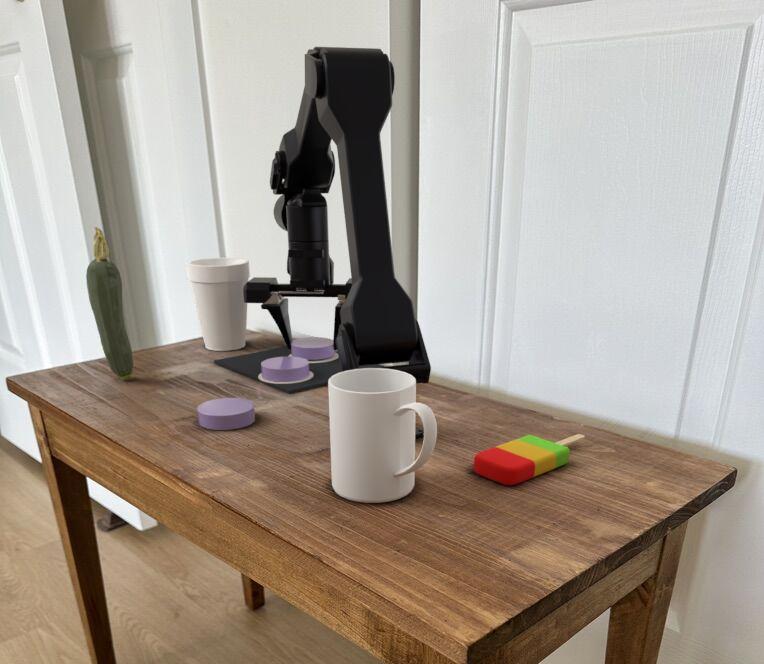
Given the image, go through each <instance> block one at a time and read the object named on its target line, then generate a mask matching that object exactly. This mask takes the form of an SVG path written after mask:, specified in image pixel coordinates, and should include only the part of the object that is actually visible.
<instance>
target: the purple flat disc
mask: <svg viewBox="0 0 764 664" xmlns="http://www.w3.org/2000/svg"><path fill="white" fill-rule="evenodd" d="M196 412H197V421H198V424H199V426H200V427H201V428H204V429H207V430H211V431H233V430H238V429H242V428H245V427H249V426H250V425H252V424H253V423H255V421H256V409H255V404H254V402H253V401H251V400H249V399H245V398H242V397H241V398H240V397H221V398H215V399H210V400H207V401H204V402H202V403H200V404H199V405H198V406H197V408H196Z"/></svg>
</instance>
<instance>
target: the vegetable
mask: <svg viewBox="0 0 764 664" xmlns="http://www.w3.org/2000/svg"><path fill="white" fill-rule="evenodd" d="M94 230H95V232H94V236H93V257H94V259H93V260H91V261H90V263H89V264H88V265H87V268H86V276H85V278H86V288H87V294H88V301H89V304H90V307H91V311H92V313H93V316H94V320H95V325H96V328H97V332H98V335H99V339H100V344H101V347H102V351H103V354H104V357H105V359H106V361H107V363H108V366H109V368H110V371H112V373H113V374H115V376H117V378H119V379H120V380H121V381H125V380H131V379H132V377H133V376H132V375H133V373H134V372H133V371H134V369H133V368H134V358H133V357H134V356H133V352H132V347H131V342H130V340H129V339H130V338H129V336H128V333H127V329H126V325H125V319H124V312H123V311H124V310H123V309H124V308H123V282H122V277H121V273H120V271H119V269H118V267H117V265H116V264H114V262H112V261H111V260H110V259H108V258H109V256H110V249H109V246H108V245H109V244H107V241H106V237H105V236H104V233H103V231H102V229H101V228H99V227H98V226H95V227H94Z"/></svg>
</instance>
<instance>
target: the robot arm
mask: <svg viewBox="0 0 764 664" xmlns="http://www.w3.org/2000/svg"><path fill="white" fill-rule="evenodd" d="M395 79H396V77H395V68H394V65H393V62H392V61H391V60H390V58H389V55H388V54H387V53H384V51H382V49H381V48H375V47H374V48H373V47H371V48H369V47H340V46H314V47H313V48H311V49H308V50H307V52H306V53H305V54H304V87H303V91H302V96H301V100H300V105H299V109H298V114H297V117H296V122H295V125H294V127H293V128H291V129H290V130H288V131H287V132H285V133H284V134H283V135H282V137H281V141H280V144H279V146H278V147H279V148H278V150H276V151H275V153H274V158H273V159H272V161H271V167H270V168H271V169H270V174H269V175H270V176H269V186H270V190H272V194H273V195H275V196H276V195H277V196H279V195H280V196H279V197H278V198H277V200H276V202H275V203H274V205H273V206H274V207H273V219H274V221H275V223H276V224H277V225H278V227H279V228H280V229H282V230H283V231H285V232H287V246H288V247H287V248H288V250H287V259H286V273H287V274H288V275H289V283H278V279H277V277H265V276H264V277H262V276H261V277H260V276H259V277H255V276H254V277H252V278H251V279H250V280H248V282H247V283H246V284H245V285H244V288H243V295H244V302H245V303H247V304H261V305H260V307H261V310H267V311H268V313H269V315H270V316H271V318H272V319H273V321H274V323H275V325H276V326H277V328H278V330H279V333H280V335H281V336H282V338H283V341H284V343H285V345H286V346H287V347H288V349H289V350H291V342H292V341H293V334H292V327H291V321H290V314H289V298H337V301H338V302H337V303H336V305H335V307H334V321H333V324H334V325H333V337H332V338H333V339H332V340H333V343H334V350H335V351H337V352H338V357H339V362H340V367H341V372H344V371H348V370H354V369H359V366H368V365H387V364H388V366H385V367H375V368H383V369H393V370H398V371H402V372H406V373H408V374H410V375H412V376H413V377H414V378H415V379H416V384H429V381H430V377H431V371H432V366H431V362H430V358H429V354H428V352H427V348H426V344H425V340H424V337H423V334H422V331H421V326H420V324H419V321H418V320H417V318H416V314H415V308H414V302H413V299H412V298H411V297H410V295H409V294H408V293H407V291H406V290H405V289H404V288H403V286H402V285H401V283H400V282H399V280H398V279H397V278H396V275H395V266H394V258H393V247H392V238H391V227H390V220H389V208H388V199H387V189H386V180H385V171H384V161H383V160H384V159H383V152H382V151H383V149H382V141H381V132H382V130H383V128H384V125H385V123H386V121H387V118H388V116H389V114H390V112H391V109H392V107H393V94H394V92H395V81H396V80H395ZM332 141H333V143H334V144H335V146H336V151H337V159H338V160H337V161H338V169H339V177H340V185H341V186H340V187H341V197H342V203H343V204H342V205H343V212H344V224H345V231H346V241H347V249H348V258H349V267H350V275H351V277H349V278H348V280H347V281H346V282H345V283H334V281H335V279H334V277H335V262H334V261H333V259H332V257H331V256H330V242H329V241H330V240H329V239H330V238H329V215H328V214H329V213H328V211H329V210H328V201H327V198H326V197H325V196H324V195H323V194H329V193H330V189H331V186H332V183H333V180H334V178H335V174H336V159H335V154H334V151H333V150H332V147H331V144H332ZM397 363H398V364H399V363H407V364H399V365H398V364H397ZM389 364H397V365H389ZM420 437H424V429H423V428H419V427H418V426H417V427H416V426H415V439H417V438H420Z"/></svg>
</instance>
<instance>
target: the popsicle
mask: <svg viewBox="0 0 764 664" xmlns="http://www.w3.org/2000/svg"><path fill="white" fill-rule="evenodd" d="M585 436H586V435H584V434H581V433H577V434H574V435H572V436H568V437H567V438H564V439H561V440H558V441H556V442H553V441H551V440H547V439H545V438H541V437H538V436H536V435H532V434H527V435H524V436H520V437H518V438H516V439H514V440H510V441H508V442H507V441H506V442H505V443H501V444H499V445H497V446H493V447H491V448H488V449H486V450H483V451H480V452H478V453H476V454H475V455H474V458H473V471H474V472H475V473H476V474H477V475H479V476H482V477H483V478H486V479H488V480H491V481H494V482H496V483H499V484H501V485H505V486H514V485H518V484H521V483H523V482H525V481H528V480H531V479H533V478H536V477H538V476H540V475H542V474H544V473H545V474H546V473H548V472H550V471H552V470H554V469H557V468H560V467H561V466H564V465H566V464H568V463H569V461H570V456H571V455H570V454H571V451H570V450H571V449H570V448H569V447H568V446H570V445H572V444H575V443H577V442H579V441H583V440H585V439H586V437H585Z"/></svg>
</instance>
